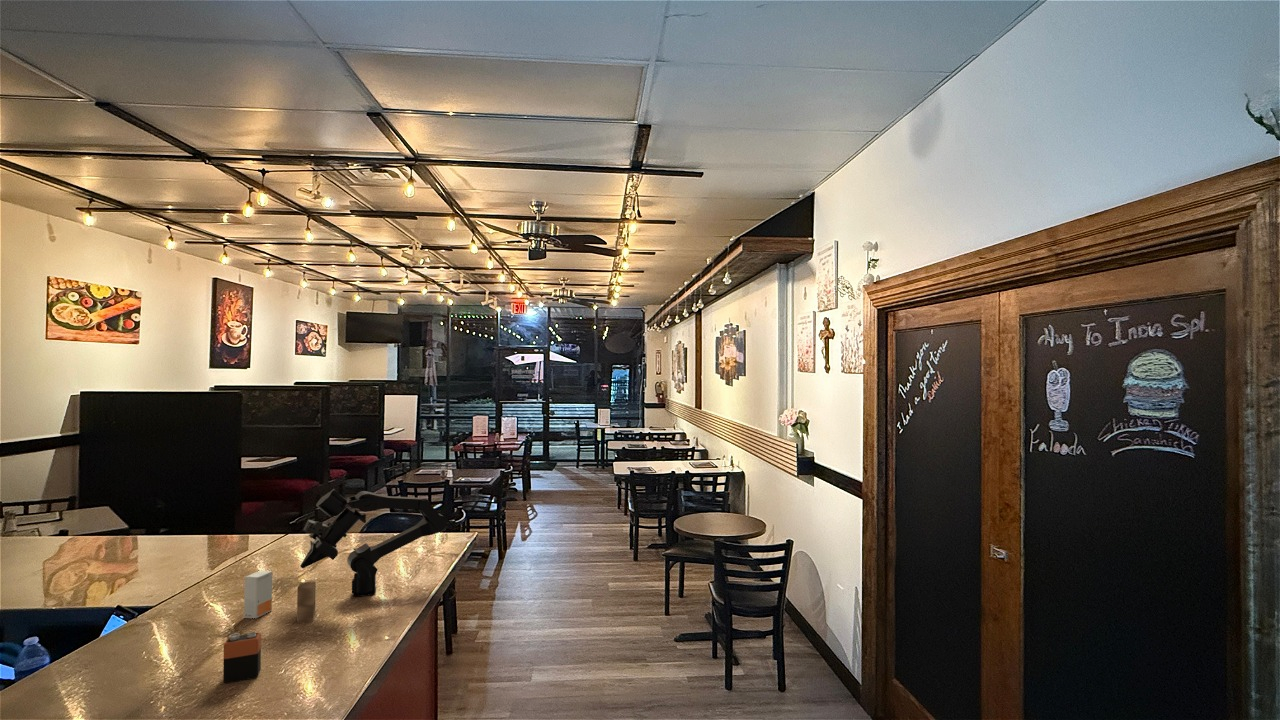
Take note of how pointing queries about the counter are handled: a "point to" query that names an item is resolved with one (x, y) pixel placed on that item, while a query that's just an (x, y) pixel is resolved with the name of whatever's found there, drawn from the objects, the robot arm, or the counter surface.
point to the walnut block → (306, 602)
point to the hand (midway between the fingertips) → (301, 567)
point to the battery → (242, 657)
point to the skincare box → (258, 594)
